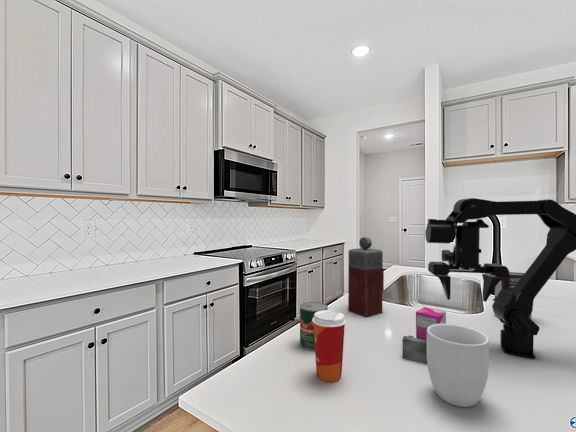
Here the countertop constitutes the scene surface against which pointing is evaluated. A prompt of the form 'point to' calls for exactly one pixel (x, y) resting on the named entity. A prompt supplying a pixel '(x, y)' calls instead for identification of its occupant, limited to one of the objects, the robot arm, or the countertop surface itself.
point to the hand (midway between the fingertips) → (466, 300)
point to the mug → (457, 363)
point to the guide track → (414, 349)
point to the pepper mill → (365, 279)
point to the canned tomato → (309, 323)
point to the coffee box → (509, 284)
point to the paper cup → (329, 344)
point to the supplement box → (428, 320)
